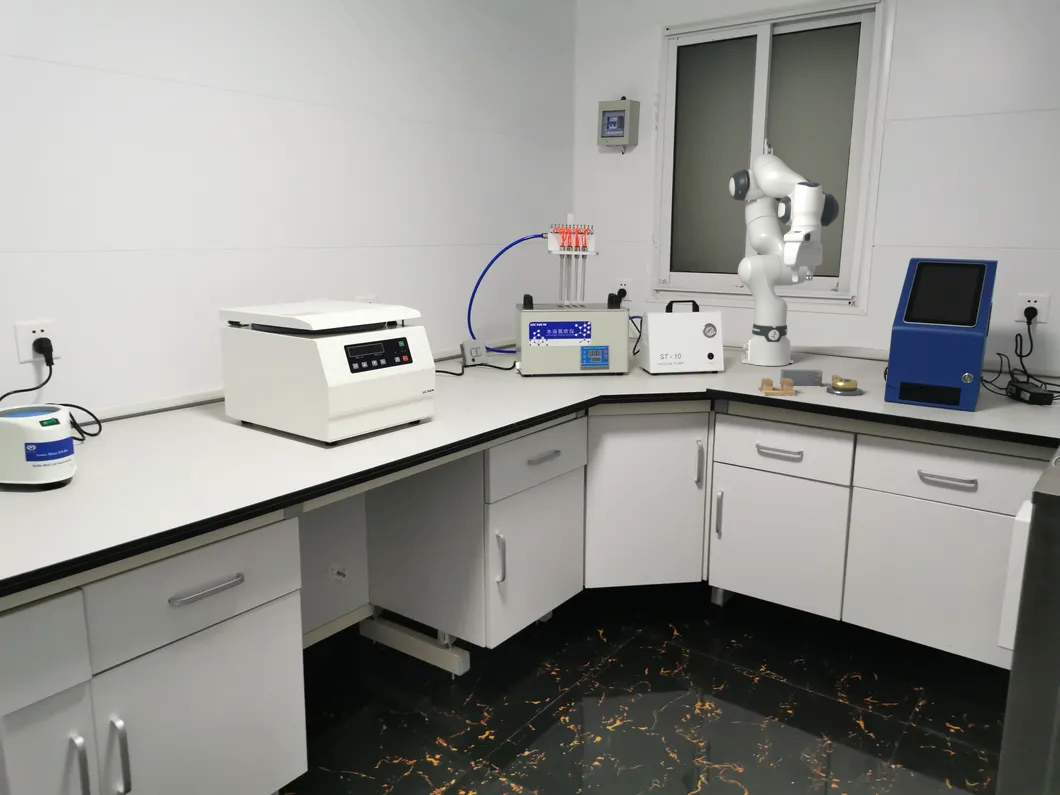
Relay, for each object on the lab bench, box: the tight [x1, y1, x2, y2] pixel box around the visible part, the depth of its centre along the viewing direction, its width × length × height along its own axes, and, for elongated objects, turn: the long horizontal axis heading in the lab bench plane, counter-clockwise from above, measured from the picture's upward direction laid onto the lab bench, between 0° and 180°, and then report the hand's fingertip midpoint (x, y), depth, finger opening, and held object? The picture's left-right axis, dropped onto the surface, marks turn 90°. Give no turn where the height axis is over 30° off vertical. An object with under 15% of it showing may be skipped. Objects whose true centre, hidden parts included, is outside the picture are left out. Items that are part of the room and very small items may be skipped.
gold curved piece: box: [831, 374, 858, 391], centre depth 241 cm, size 12×7×3 cm, turn 178°
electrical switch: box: [459, 338, 489, 366], centre depth 285 cm, size 9×5×9 cm, turn 132°
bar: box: [779, 369, 824, 387], centre depth 249 cm, size 3×12×5 cm, turn 86°
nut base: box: [826, 385, 863, 397], centre depth 239 cm, size 10×10×1 cm
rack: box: [757, 377, 797, 396], centre depth 238 cm, size 8×9×4 cm
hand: (802, 281), depth 246 cm, fingers open, 8 cm apart
